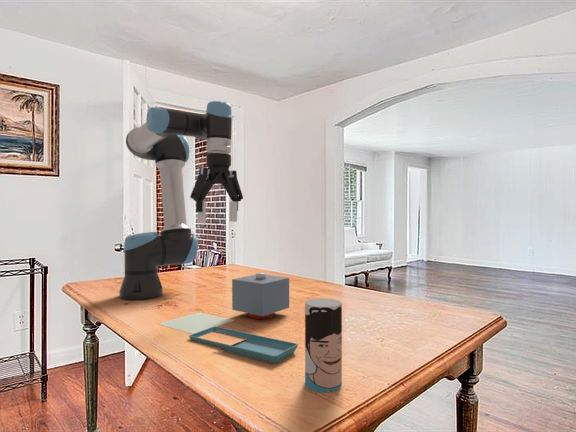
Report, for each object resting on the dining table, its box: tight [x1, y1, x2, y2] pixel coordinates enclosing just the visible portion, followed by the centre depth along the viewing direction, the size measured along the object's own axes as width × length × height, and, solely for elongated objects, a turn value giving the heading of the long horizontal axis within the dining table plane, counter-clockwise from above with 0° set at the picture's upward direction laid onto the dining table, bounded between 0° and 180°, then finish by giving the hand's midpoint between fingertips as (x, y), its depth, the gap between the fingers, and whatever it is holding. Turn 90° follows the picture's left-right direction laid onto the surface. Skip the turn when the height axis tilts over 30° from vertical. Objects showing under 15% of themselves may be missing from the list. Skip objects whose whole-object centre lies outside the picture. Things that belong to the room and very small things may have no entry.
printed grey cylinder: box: [304, 297, 343, 393], centre depth 72 cm, size 7×7×15 cm
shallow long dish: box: [188, 326, 299, 365], centre depth 91 cm, size 26×9×2 cm, turn 56°
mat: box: [157, 311, 236, 335], centre depth 109 cm, size 15×15×1 cm
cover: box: [231, 272, 290, 316], centre depth 116 cm, size 12×12×10 cm
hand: (218, 222), depth 121 cm, fingers open, 13 cm apart
